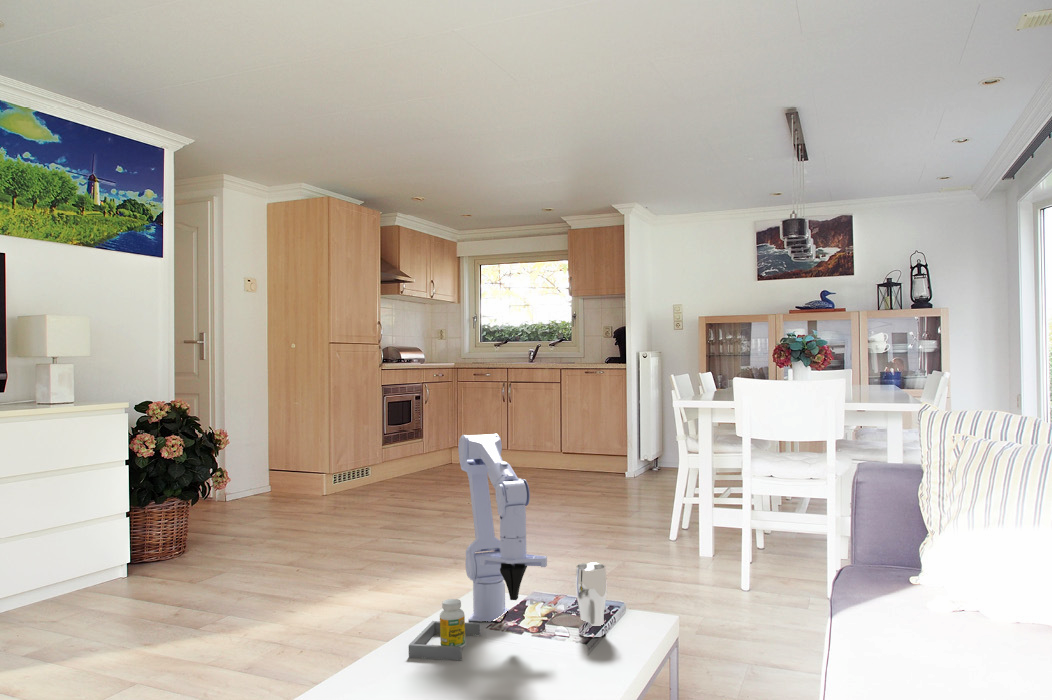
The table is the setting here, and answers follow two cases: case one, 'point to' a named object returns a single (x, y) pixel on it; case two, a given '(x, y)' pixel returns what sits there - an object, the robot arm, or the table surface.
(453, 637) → the supplement bottle
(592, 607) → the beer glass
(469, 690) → the table surface
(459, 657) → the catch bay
